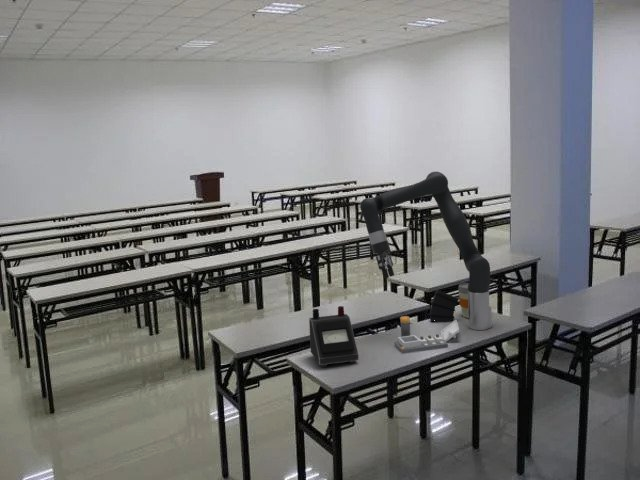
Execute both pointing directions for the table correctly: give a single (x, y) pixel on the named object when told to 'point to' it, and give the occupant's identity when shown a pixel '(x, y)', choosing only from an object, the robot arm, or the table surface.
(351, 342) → the voltmeter
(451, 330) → the light switch
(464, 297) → the reusable coffee cup
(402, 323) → the lockout plug
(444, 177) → the robot arm
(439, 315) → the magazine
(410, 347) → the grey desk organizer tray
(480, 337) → the table surface
